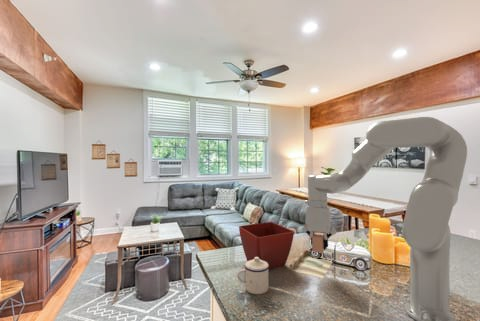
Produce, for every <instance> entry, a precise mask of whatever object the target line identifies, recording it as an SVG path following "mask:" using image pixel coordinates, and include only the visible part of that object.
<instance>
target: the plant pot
mask: <svg viewBox="0 0 480 321" xmlns="http://www.w3.org/2000/svg"><path fill="white" fill-rule="evenodd" d="M238 229H239V230H238V231H239V236H240V237H239V238H240V240H241V241H240V242H241V246H242V249H243V253H244V256H245V259H246V262H248V261H250V260H253V259H254V258H255V257H259V259H260V260H263V261H266V262H267V263H268V265H269V268H268V271H270V270H273V269H278V268H283V267H285V266H286V264H287V261H288V257H289V256H290V252H291V248H292V245H293V240H294V235H295V231H294V230H291V229H290V228H287V227H284V226H282V225H280V224H278V223H276V222H273V221H268V222H260V223H252V224H245V225H239V226H238Z"/></svg>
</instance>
